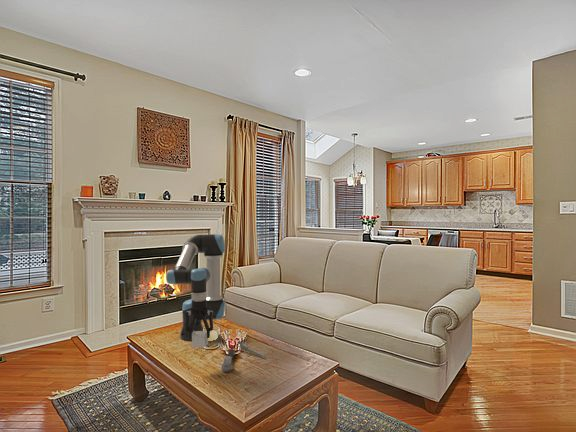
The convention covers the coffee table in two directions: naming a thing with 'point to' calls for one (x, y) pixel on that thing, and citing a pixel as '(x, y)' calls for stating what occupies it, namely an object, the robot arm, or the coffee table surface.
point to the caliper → (250, 350)
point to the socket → (199, 339)
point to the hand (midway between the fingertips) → (200, 344)
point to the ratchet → (228, 362)
